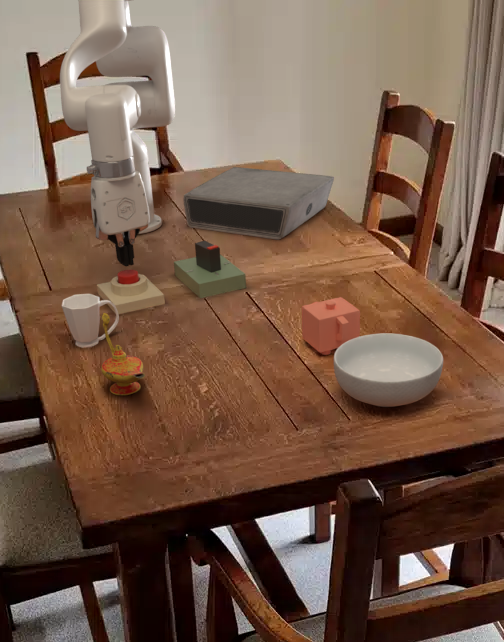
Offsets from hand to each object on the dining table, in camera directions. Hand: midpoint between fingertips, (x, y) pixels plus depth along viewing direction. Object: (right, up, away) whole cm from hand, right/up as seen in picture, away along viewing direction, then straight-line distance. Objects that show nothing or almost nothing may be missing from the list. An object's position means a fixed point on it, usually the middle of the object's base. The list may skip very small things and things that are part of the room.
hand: (126, 263), depth 184 cm
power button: (0, -3, +2) cm, 4 cm away
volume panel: (+16, -1, +10) cm, 19 cm away
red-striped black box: (+16, +1, +8) cm, 18 cm away
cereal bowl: (+46, -29, -33) cm, 64 cm away
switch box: (0, -6, +4) cm, 7 cm away
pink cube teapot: (+38, -19, -17) cm, 45 cm away
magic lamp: (+4, -28, -28) cm, 40 cm away
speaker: (+25, +21, +41) cm, 53 cm away
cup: (-4, -17, -11) cm, 20 cm away
